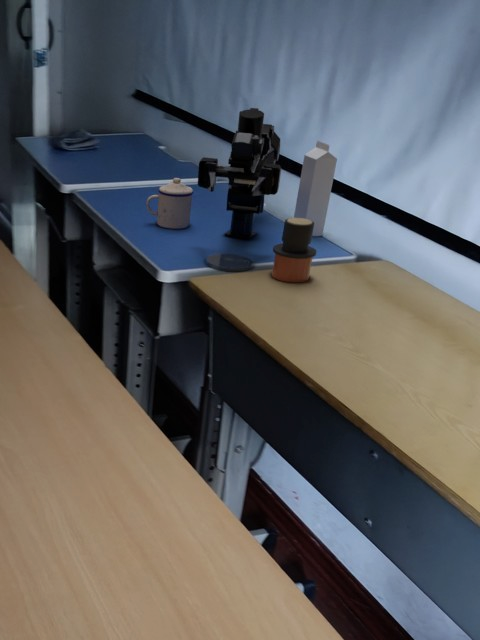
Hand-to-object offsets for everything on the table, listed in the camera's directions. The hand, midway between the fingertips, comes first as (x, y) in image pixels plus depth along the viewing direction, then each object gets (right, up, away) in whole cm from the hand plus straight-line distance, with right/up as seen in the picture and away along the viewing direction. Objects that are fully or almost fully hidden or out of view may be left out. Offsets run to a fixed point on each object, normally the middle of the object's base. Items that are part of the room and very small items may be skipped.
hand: (231, 191), depth 187 cm
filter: (+14, -15, +1) cm, 21 cm away
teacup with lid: (-11, +6, +36) cm, 38 cm away
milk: (+26, +2, +32) cm, 41 cm away
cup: (+14, -18, +3) cm, 23 cm away
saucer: (+1, -13, +9) cm, 16 cm away
